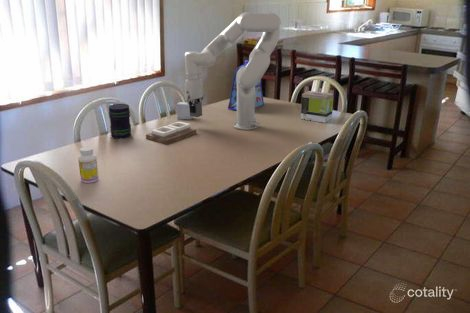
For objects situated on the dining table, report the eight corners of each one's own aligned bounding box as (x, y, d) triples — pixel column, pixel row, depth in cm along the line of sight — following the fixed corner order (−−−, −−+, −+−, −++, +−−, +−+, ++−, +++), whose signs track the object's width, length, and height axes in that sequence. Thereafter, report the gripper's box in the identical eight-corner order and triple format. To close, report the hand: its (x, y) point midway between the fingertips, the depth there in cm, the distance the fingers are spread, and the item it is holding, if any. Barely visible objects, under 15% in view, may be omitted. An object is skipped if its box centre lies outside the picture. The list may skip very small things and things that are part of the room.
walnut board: (196, 133, 229) (196, 129, 228) (166, 144, 213) (166, 140, 212) (176, 128, 236) (176, 124, 236) (146, 138, 221) (145, 134, 220)
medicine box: (192, 117, 255) (192, 102, 252) (191, 119, 251) (190, 104, 248) (178, 117, 256) (178, 102, 253) (177, 119, 252) (176, 104, 249)
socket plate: (190, 128, 229) (190, 124, 228) (163, 138, 215) (163, 133, 214) (175, 125, 234) (175, 120, 234) (148, 134, 220) (148, 129, 219)
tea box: (332, 119, 254) (334, 93, 249) (325, 123, 246) (327, 97, 241) (307, 115, 262) (309, 90, 256) (300, 119, 254) (301, 93, 248)
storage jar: (124, 131, 231) (122, 102, 226) (135, 135, 225) (133, 106, 219) (107, 135, 225) (104, 106, 219) (117, 140, 218) (115, 110, 213)
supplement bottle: (83, 176, 177) (79, 145, 172) (100, 176, 177) (97, 145, 173) (79, 183, 171) (75, 151, 166) (97, 183, 171) (93, 151, 166)
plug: (202, 115, 235) (201, 99, 232) (197, 117, 232) (196, 101, 229) (195, 114, 238) (194, 98, 235) (189, 115, 235) (188, 99, 232)
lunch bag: (246, 113, 265) (247, 63, 255) (227, 109, 272) (227, 61, 262) (264, 105, 282) (266, 58, 272) (246, 102, 289) (246, 56, 279)
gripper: (198, 73, 236) (200, 107, 243) (176, 78, 224) (179, 114, 230) (209, 74, 232) (211, 109, 238) (187, 80, 219) (190, 116, 226)
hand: (195, 111), depth 234 cm, fingers closed on plug, 4 cm apart
